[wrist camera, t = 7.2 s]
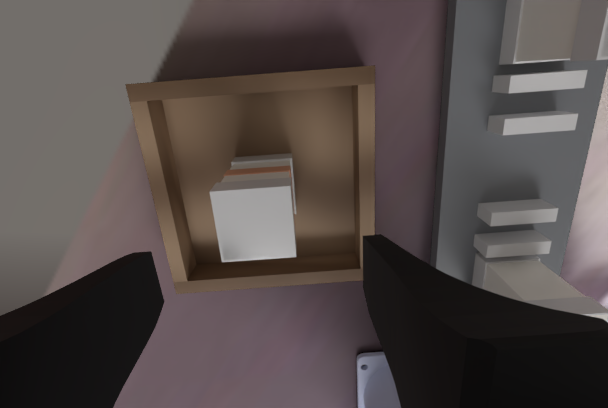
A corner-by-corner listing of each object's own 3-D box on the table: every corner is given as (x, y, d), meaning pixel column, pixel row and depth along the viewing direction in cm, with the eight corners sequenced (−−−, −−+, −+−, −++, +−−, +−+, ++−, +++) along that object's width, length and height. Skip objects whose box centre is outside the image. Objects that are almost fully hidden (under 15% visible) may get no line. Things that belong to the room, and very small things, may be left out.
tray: (366, 257, 22) (374, 279, 20) (188, 270, 22) (176, 293, 20) (364, 66, 18) (375, 65, 16) (147, 83, 18) (125, 84, 16)
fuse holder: (542, 297, 24) (569, 321, 21) (427, 305, 24) (441, 330, 21) (615, -44, 17) (667, -63, 14) (450, -31, 17) (475, -48, 14)
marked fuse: (296, 206, 20) (296, 257, 15) (242, 210, 20) (221, 262, 15) (292, 153, 19) (290, 185, 13) (235, 157, 19) (209, 191, 13)
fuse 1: (562, 60, 17) (690, 53, 12) (498, 64, 17) (596, 60, 12) (575, -14, 16) (724, -60, 11) (507, -9, 16) (620, -52, 11)
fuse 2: (519, 292, 22) (594, 366, 17) (470, 296, 22) (529, 370, 17) (527, 248, 21) (611, 312, 15) (475, 252, 21) (540, 317, 16)
